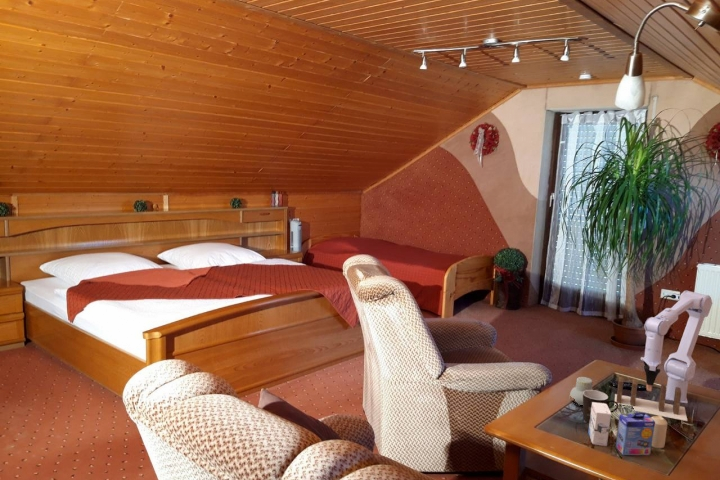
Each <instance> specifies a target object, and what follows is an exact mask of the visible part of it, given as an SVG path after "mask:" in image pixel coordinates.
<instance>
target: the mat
mask: <svg viewBox="0 0 720 480" xmlns="http://www.w3.org/2000/svg"><path fill="white" fill-rule="evenodd" d="M630 399H631V396H628V395H623V394H622V398H621V404H622V405H630ZM614 401H616V402H617V393H614ZM613 403H614V402H613ZM619 404H620V403H618V405H619ZM615 405H616V403H614V405H613V406H615ZM658 405H659V401H653V400H649V399H643V398H640V397H639V398H638V397H636V401H635V406H633V408H634V410H635V412H638V413H646V414H650V415H653V416H657V415H660V416H662V417H663V418H664V417H665V418H671V419H675V420H679V421H680V420H681V421H684V422H688V418H687V413H686V412H687V411H686V408H685V406H680V407H679V414H678V415H676V414H674V413H673V404H669V403H665V405H664V412H661V411H659V407H658ZM634 410H633V411H634Z"/></svg>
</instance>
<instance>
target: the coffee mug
mask: <svg viewBox="0 0 720 480" xmlns="http://www.w3.org/2000/svg"><path fill="white" fill-rule="evenodd" d="M592 402H596V403H604V404H607V406H608V405H609V404H610V403H616V405H617V407H615V408H614V409H613V410H610V412H611V414H613V413H614V412H615V411H617V410H618V408H619V407H618V403H617V402H616V401H615V400H609V396H608V394H606V393H605V392H603V391H600V390H595V389H592V390H585V391H583V406H582V408H583V409H582V410H583V411H582V412H583V415H582V416H583V421H584V420H585V422H586V423H588V424H589V423H590V415H591V407H592Z"/></svg>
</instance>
